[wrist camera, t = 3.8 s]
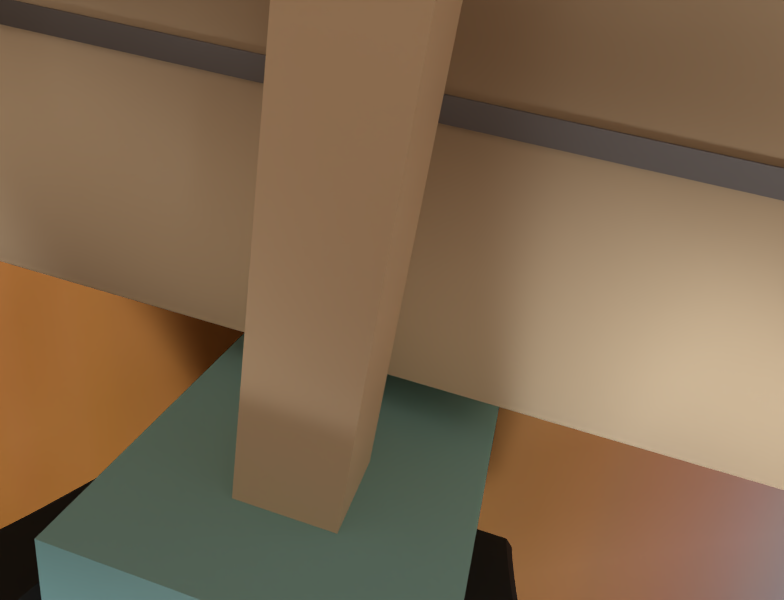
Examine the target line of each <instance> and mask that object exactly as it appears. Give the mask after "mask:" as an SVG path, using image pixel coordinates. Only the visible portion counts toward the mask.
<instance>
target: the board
mask: <svg viewBox="0 0 784 600" xmlns="http://www.w3.org/2000/svg"><path fill="white" fill-rule="evenodd" d="M269 7H270V0H0V261H2V262H5V263H9V264H12V265H15V266H19V267H22V268H26V269H29V270H33V271H36V272H39V273H43V274H46V275H50V276H53V277H57V278H60V279H63V280H67V281H70V282H74V283H77V284H81V285H84V286H87V287H91V288H94V289H98V290H101V291H104V292H108V293H111V294H115V295H118V296H122V297H125V298H128V299H132V300H135V301H139V302H142V303H146V304H149V305H152V306H156V307H159V308H163V309H166V310H169V311H173V312H176V313H180V314H183V315H187V316H190V317H193V318H197V319H200V320H204V321H207V322H211V323H214V324H217V325H221V326H224V327H228V328H231V329H235V330H238V331H241V332H245V321H246V308H247V295H248V282H249V269H250V255H251V242H252V229H253V216H254V203H255V190H256V177H257V164H258V151H259V138H260V125H261V112H262V99H263V86H264V73H265V60H266V46H267V33H268V20H269ZM387 374H389V375H392V376H395V377H399V378H402V379H406V380H409V381H412V382H416V383H419V384H423V385H426V386H430V387H433V388H436V389H440V390H443V391H447V392H450V393H454V394H457V395H460V396H464V397H467V398H471V399H474V400H478V401H481V402H484V403H488V404H491V405H495V406H498V407H501V408H505V409H508V410H512V411H515V412H519V413H522V414H525V415H529V416H532V417H536V418H539V419H543V420H546V421H549V422H553V423H556V424H560V425H563V426H566V427H570V428H573V429H577V430H580V431H584V432H587V433H590V434H594V435H597V436H601V437H604V438H608V439H611V440H614V441H618V442H621V443H625V444H628V445H632V446H635V447H638V448H642V449H645V450H649V451H652V452H655V453H659V454H662V455H666V456H669V457H673V458H676V459H679V460H683V461H686V462H690V463H693V464H697V465H700V466H703V467H707V468H710V469H714V470H717V471H721V472H724V473H727V474H731V475H734V476H738V477H741V478H744V479H748V480H751V481H755V482H758V483H762V484H765V485H768V486H772V487H775V488H779V489H782V490H784V0H463V1H462V6H461V11H460V16H459V21H458V26H457V31H456V36H455V41H454V46H453V51H452V56H451V61H450V66H449V71H448V76H447V81H446V86H445V91H444V96H443V100H442V105H441V110H440V115H439V120H438V125H437V130H436V135H435V140H434V145H433V150H432V155H431V160H430V165H429V170H428V175H427V180H426V185H425V190H424V195H423V200H422V205H421V210H420V215H419V220H418V225H417V229H416V234H415V239H414V244H413V249H412V254H411V259H410V264H409V269H408V274H407V279H406V284H405V289H404V294H403V299H402V304H401V309H400V314H399V319H398V324H397V329H396V334H395V339H394V344H393V349H392V353H391V358H390V363H389V368H388V373H387Z"/></svg>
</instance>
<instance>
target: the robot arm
mask: <svg viewBox="0 0 784 600" xmlns="http://www.w3.org/2000/svg"><path fill="white" fill-rule="evenodd" d="M95 479H96V478H95ZM95 479H94V480H95ZM94 480H92V481H90V482H88V483H86V484H85V485H83V486H81V487H79V488H77V489H75V490H74V491H72V492H70V493H68V494H66V495H64V496H63V497H61V498H59V499H57V500H55V501H54V502H52V503H50V504H48V505H46V506H44V507H43V508H41V509H39V510H37V511H35V512H33V513H31V514H29V515H28V516H26V517H24V518H22V519H20V520H18V521H16V522H14V523H12V524H10V525H8V526H6V527H4V528H2V529H0V600H42V599H41V591H40V582H39V574H38V565H37V557H36V548H35V540H34V539H35V538H36V537H37V536H38V535H39V534H40V533H41V532H42V531H43V530H44V529H45V528H46V527H47V526H48V525H49V524H50V523H51V522H52V521H53V520H54V519H55V518H56V517H57V516H58V515H59V514H60V513H61V512H62V511H63V510H64V509H65V508H66V507H67V506H68V505H70V504H71V503H72V502H73V501H74V500H75V499H76V498H77V497H78V496H79V495H80V494H81V493H82V492H83V491H84V490H85V489H86V488H87V487H88V486H89V485H90V484H91V483H92V482H93V481H94ZM464 600H517V594H516V587H515V580H514V571H513V562H512V547H511V545H510V544H509V542H508V541H507V539H506V538H503V537H499V536H496V535H493V534H490V533H487V532H484V531H481V530H478V529H477V531H476V537H475V542H474V548H473V553H472V559H471V564H470V570H469V575H468V581H467V586H466V592H465V597H464Z"/></svg>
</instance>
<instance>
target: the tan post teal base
mask: <svg viewBox="0 0 784 600" xmlns="http://www.w3.org/2000/svg"><path fill="white" fill-rule="evenodd" d="M462 1H463V0H270V7H269V20H268V33H267V46H266V60H265V73H264V86H263V99H262V112H261V125H260V138H259V151H258V164H257V177H256V190H255V203H254V216H253V229H252V242H251V255H250V269H249V282H248V295H247V308H246V321H245V333H244V334H243V335H242V336H241V337H240V338H239V339H238V340H237V341H236V342H235V343H234V344H233V345H232V346H231V347H230V348H229V349H228V350H227V351H226V352H225V353H224V354H222V355H221V356H220V357H219V358H218V359H217V360H216V361H215V362H214V363H213V364H212V365H211V366H210V367H209V368H208V369H207V370H206V371H205V372H204V373H203V374H202V375H201V376H200V377H199V378H198V379H197V380H196V381H195V382H194V383H193V384H192V385H191V386H190V387H189V388H188V389H187V390H186V391H185V392H184V393H183V394H182V395H181V396H180V397H179V398H178V399H177V400H176V401H175V402H174V403H173V404H171V405H170V406H169V407H168V408H167V409H166V410H165V411H164V412H163V413H162V414H161V415H160V416H159V417H158V418H157V419H156V420H155V421H154V422H153V423H152V424H151V425H150V426H149V427H148V428H147V429H146V430H145V431H144V432H143V433H142V434H141V435H140V436H139V437H138V438H137V439H136V440H135V441H134V442H133V443H132V444H131V445H130V446H129V447H128V448H127V449H126V450H125V451H124V452H123V453H122V454H121V455H119V456H118V457H117V458H116V459H115V460H114V461H113V462H112V463H111V464H110V465H109V466H108V467H107V468H106V469H105V470H104V471H103V472H102V473H101V474H100V475H99V476H98V477H97V478H96V479H95V480H94V481H93V482H92V483H91V484H90V485H89V486H88V487H87V488H86V489H85V490H84V491H83V492H82V493H81V494H80V495H79V496H78V497H77V498H76V499H75V500H74V501H73V502H72V503H71V504H70V505H68V506H67V507H66V508H65V509H64V510H63V511H62V512H61V513H60V514H59V515H58V516H57V517H56V518H55V519H54V520H53V521H52V522H51V523H50V524H49V525H48V526H47V527H46V528H45V529H44V530H43V531H42V532H41V533H40V534H39V535H38V536H37V537H36V538H35V539H34V540H35V548H36V557H37V565H38V574H39V582H40V591H41V599H42V600H464V597H465V592H466V586H467V581H468V575H469V570H470V564H471V559H472V553H473V548H474V542H475V537H476V531H477V526H478V520H479V515H480V509H481V504H482V498H483V493H484V487H485V482H486V476H487V471H488V465H489V460H490V454H491V449H492V443H493V438H494V432H495V427H496V421H497V416H498V410H499V407H498V406H495V405H491V404H488V403H484V402H481V401H478V400H474V399H471V398H467V397H464V396H460V395H457V394H454V393H450V392H447V391H443V390H440V389H436V388H433V387H430V386H426V385H423V384H419V383H416V382H412V381H409V380H406V379H402V378H399V377H395V376H392V375H389V374H387V373H388V368H389V363H390V358H391V353H392V349H393V344H394V339H395V334H396V329H397V324H398V319H399V314H400V309H401V304H402V299H403V294H404V289H405V284H406V279H407V274H408V269H409V264H410V259H411V254H412V249H413V244H414V239H415V234H416V229H417V225H418V220H419V215H420V210H421V205H422V200H423V195H424V190H425V185H426V180H427V175H428V170H429V165H430V160H431V155H432V150H433V145H434V140H435V135H436V130H437V125H438V120H439V115H440V110H441V105H442V100H443V96H444V91H445V86H446V81H447V76H448V71H449V66H450V61H451V56H452V51H453V46H454V41H455V36H456V31H457V26H458V21H459V16H460V11H461V6H462Z"/></svg>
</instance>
